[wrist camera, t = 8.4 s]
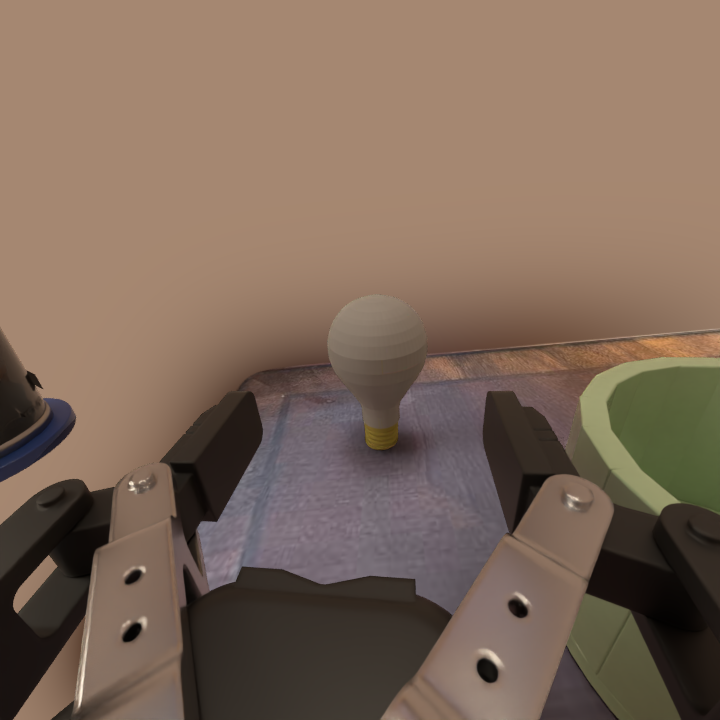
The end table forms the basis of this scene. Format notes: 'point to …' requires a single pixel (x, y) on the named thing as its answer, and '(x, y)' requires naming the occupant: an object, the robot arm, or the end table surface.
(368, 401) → the light bulb
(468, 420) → the end table surface
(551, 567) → the robot arm
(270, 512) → the end table surface
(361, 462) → the end table surface
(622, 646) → the pot
